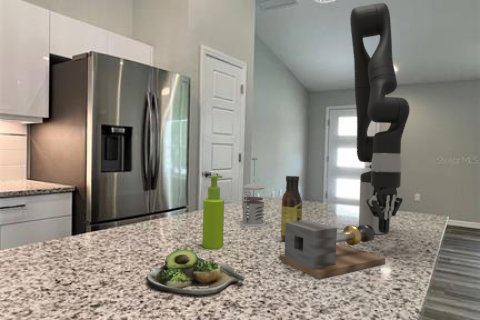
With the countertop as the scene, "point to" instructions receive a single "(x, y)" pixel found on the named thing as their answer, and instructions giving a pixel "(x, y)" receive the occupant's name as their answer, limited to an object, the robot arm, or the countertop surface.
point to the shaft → (356, 234)
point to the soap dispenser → (213, 217)
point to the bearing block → (322, 251)
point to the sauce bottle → (291, 203)
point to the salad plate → (191, 274)
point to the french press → (253, 206)
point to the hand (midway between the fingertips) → (383, 232)
